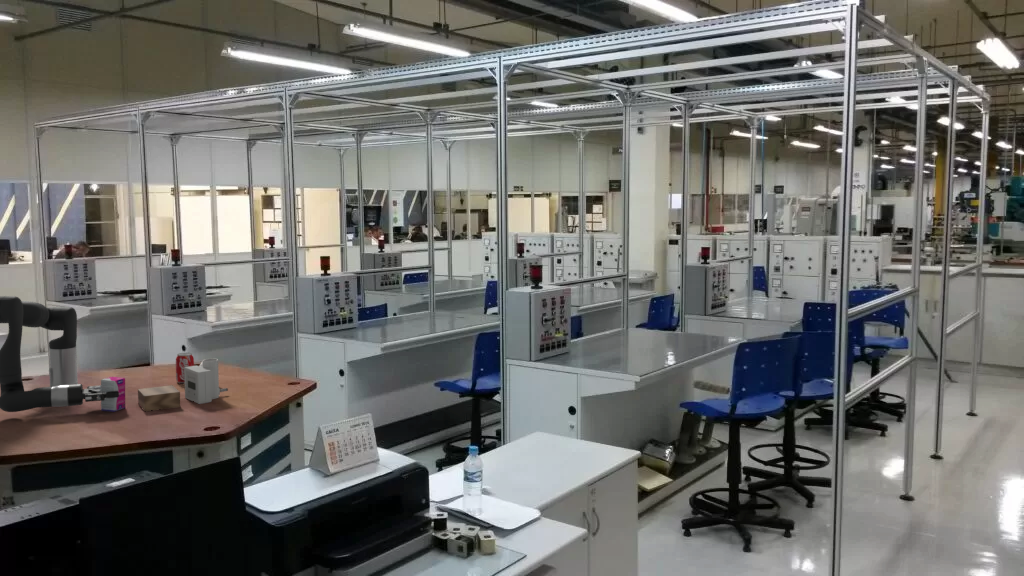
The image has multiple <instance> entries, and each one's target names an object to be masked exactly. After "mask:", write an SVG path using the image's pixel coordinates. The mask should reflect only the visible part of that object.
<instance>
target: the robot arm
mask: <svg viewBox="0 0 1024 576" xmlns="http://www.w3.org/2000/svg"><path fill="white" fill-rule="evenodd" d="M0 324H7V325H8V333H7V336H6V339H5V341H4V343H3V345H2V347H1V348H0V410H1V411H4V412H7V413H17V412H23V411H28V410H33V409H37V408H41V409H42V408H50V407H51V408H53V407H55V408H59V407H60V408H61V407H72V406H73V407H74V406H82V405H83V404H84V402H86V403H88V402H101V401H103V400H105V399H107V398H116V397H119V392H118V391H110V392H102V391H101V384H99V385H88V386H86V388H83V386H84V385H83V384H82V383H78V361H77V360H78V357H77V356H78V355H77V337H78V332H77V331H78V315H77V311H76V309H75V308H74V307H70V306H51V307H46V306H45V305H44V304H42V303H41V302H40V303H39V302H36V301H27V300H26V301H22V300H21V298H19V296H15V295H0ZM23 327H25V328H34V329H35V328H43V329H45V330H48V331H63V332H62V333H63V334H62V335H61V336H60V337H57V338H54V339H51V340H50V341H49V342H48V351H49V354H48V355H49V370H48V371H49V372H48V374H49V386H42V387H36V388H34V389H31V390H25V388H24V383H23V372H22V362H21V361H22V360H21V359H22V358H21V346H22V337H23ZM84 400H85V401H84Z"/></svg>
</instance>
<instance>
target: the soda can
mask: <svg viewBox="0 0 1024 576" xmlns="http://www.w3.org/2000/svg"><path fill="white" fill-rule="evenodd" d="M176 355H177V356H176V357H175V379H176V382H177V383H179V384H185V374H184V367H189V366H195V357H194V356H193V353H192V352H181V353H180V352H179V353H177V354H176Z"/></svg>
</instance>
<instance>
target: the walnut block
mask: <svg viewBox="0 0 1024 576" xmlns="http://www.w3.org/2000/svg"><path fill="white" fill-rule="evenodd" d="M137 402H138V403H137V404H138V406H139V407H140V406H141V407H142V408H143V409H142V408H141V407H140V408H141V409H142V410H143V411H144V412H145V411H146V412H152V411H151V410H153V411H160V410H159V409H161V410H166V409H174V408H175V409H176V408H181V392H180V390H178V389H177V388H176V387H175V386H174V385H163V386H155V387H144V388H138V389H137Z"/></svg>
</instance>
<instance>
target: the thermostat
mask: <svg viewBox="0 0 1024 576" xmlns="http://www.w3.org/2000/svg"><path fill="white" fill-rule="evenodd" d="M202 361H203V366H202V367H200V365H194V366H189V367H184V374H185V383H184V399H187V400H189V401H191V402H193V401H194V403H196V404H199V405H201V404H207V403H211V402H212V400H216V399H218V398H219V397H220V395H221V393H223V392H228V391H229V388H228V387H225V388H220V386H219V385H220V383H219V381H220V380H219V375H220V374H219V359H218V358H213V357H212V358H205V359H202Z"/></svg>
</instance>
